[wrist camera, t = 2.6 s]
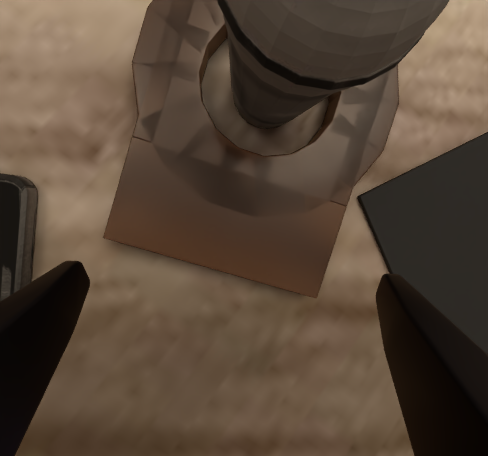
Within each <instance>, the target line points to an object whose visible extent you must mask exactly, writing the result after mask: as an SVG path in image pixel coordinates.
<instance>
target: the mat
mask: <svg viewBox="0 0 488 456" xmlns="http://www.w3.org/2000/svg"><path fill="white" fill-rule="evenodd" d="M358 199H359V201H360V203H361V206H362V208H363V210H364V213H365V215H366V217H367V220H368V222H369V225H370V227H371V229H372V232H373V234H374V236H375V239H376V241H377V243H378V246H379V248H380V250H381V253H382V255H383V257H384V260H385V262H386V264H387V267H388V269H389V271H390V274H399V275H400V276H402V277H403V278H404V279H405V280H406V281H407V282H408V283H409V284H411V285H412V286H413V287H414V288H415V289H416V290H417V291H418V292H419V293H420V294H422V295H423V296H424V297H425V298H426V299H427V300H428V301H429V302H430V303H431V304H433V305H434V306H435V307H436V308H437V309H438V310H439V311H440V312H441V313H442V314H444V315H445V316H446V317H447V318H448V319H449V320H450V321H451V322H452V323H453V324H455V325H456V326H457V327H458V328H459V329H460V330H461V331H462V332H463V333H464V334H466V335H467V336H468V337H469V338H470V339H471V340H472V341H473V342H474V343H475V344H477V345H478V346H479V347H480V348H481V349H482V350H483V351H484V352H485V353H486V354H488V132H487V133H485V134H483V135H481V136H479V137H477V138H475V139H473V140H471V141H469V142H467V143H465V144H463V145H461V146H459V147H457V148H454V149H452V150H450V151H448V152H446V153H444V154H442V155H440V156H438V157H436V158H434V159H432V160H430V161H428V162H426V163H424V164H422V165H420V166H418V167H416V168H414V169H412V170H410V171H408V172H406V173H404V174H402V175H400V176H398V177H396V178H394V179H392V180H390V181H388V182H386V183H384V184H382V185H380V186H378V187H375V188H373V189H371V190H369V191H367V192H365V193H363V194H361V195H359V196H358Z"/></svg>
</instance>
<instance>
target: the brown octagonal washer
mask: <svg viewBox="0 0 488 456" xmlns="http://www.w3.org/2000/svg"><path fill="white" fill-rule="evenodd" d="M226 38H228V32H227V28H226V25H225V21H224V17H223V13H222V11H221V9H220V7H219V5H218V2H217V0H153V1H152V2H151V3H150V5H149V6H148V8H147V11H146V14H145V18H144V21H143V25H142V28H141V32H140V36H139V39H138V43H137V46H136V50H135V53H134V57H133V60H132V68H133V77H134V85H135V94H136V102H137V111H138V118H137V122H136V125H135V129H134V132H133V137H132V139H131V143H130V146H129V150H128V153H127V157H126V160H125V163H124V167H123V170H122V174H121V177H120V181H119V184H118V188H117V191H116V195H115V198H114V202H113V205H112V209H111V212H110V216H109V219H108V223H107V226H106V230H105V233H104V237H103V238H106V239H109V240H113V241H116V242H120V243H123V244H127V245H130V246H134V247H137V248H141V249H144V250H148V251H152V252H155V253H159V254H162V255H166V256H169V257H173V258H176V259H180V260H183V261H187V262H190V263H194V264H197V265H201V266H204V267H208V268H211V269H215V270H218V271H222V272H225V273H229V274H232V275H236V276H239V277H243V278H246V279H250V280H253V281H257V282H261V283H264V284H268V285H271V286H275V287H278V288H282V289H285V290H289V291H292V292H296V293H299V294H303V295H306V296H310V297H313V298H317V296H318V293H319V290H320V287H321V283H322V280H323V277H324V274H325V271H326V268H327V265H328V262H329V259H330V256H331V253H332V250H333V247H334V244H335V241H336V238H337V235H338V232H339V229H340V226H341V223H342V220H343V216H344V213H345V210H346V206H347V204H348V201H349V198H350V195H351V192H352V189H353V187H354V186H355V185H356V183H357V182H358V181H359V180H360V179H361V177H362V176H363V175H364V174H365V173H366V171H367V170H368V169H369V168H370V167H371V165H372V164H373V163H374V162H375V161H376V159H377V158H378V157H379V156H380V154H381V153H382V152H383V150H384V147H385V144H386V141H387V138H388V135H389V132H390V129H391V126H392V123H393V120H394V117H395V114H396V111H397V108H398V105H399V88H398V64H397V66H396V67H395V68H393V69H391V70H390V71H388V72H386V73H384V74H382V75H380V76H379V77H377V78H375V79H373V80H371V81H370V82H368V83H366V84H364V85H358V86H353V87H350V88H348V89H345V90H342V91H339V92H336V93H333V94H331V95H330V96H329V105H328V109H327V112H326V115H325V118H324V121H323V124H322V127H321V129H320V130H319V131H318V132H317V134H316V135H315V136H314V137H313V138H312V140H311V141H310V142H309V143H308V144H307V146H305V147H303V148H301V149H299V150H297V151H295V152H293V153H291V154H284V155H271V156H262V155H259V154H256V153H253V152H250V151H247V150H244V149H241V148H238V147H237V146H236V145H234V144H233V143H232V142H231V141H230V140H229V139H228V138H226V137H225V136H224V135H223V134H222V133H221V132H219V131H218V130H217V129H216V127H215V125H214V124H213V122H212V120H211V118H210V116H209V114H208V112H207V110H206V108H205V106H204V104H203V101H202V91H201V83H202V79H203V76H204V72H205V69H206V66H207V62H208V59H209V58H210V57H211V55H212V54H213V53H214V52H215V51H216V49H217V48H218V47H219V46H220V45H221V43H222V42H223V41H224V40H225V39H226Z"/></svg>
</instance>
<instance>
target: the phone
mask: <svg viewBox="0 0 488 456" xmlns="http://www.w3.org/2000/svg"><path fill="white" fill-rule="evenodd" d="M36 209H37V190H36V187H35V185H34V184H33V183H32V182H31V181H30V180H28V179H27V178H25V177H21V176H16V175H8V174H1V173H0V301H2V300H3V299H5V298H7V297H8V296H10V295H12V294H13V293H15V292H16V291H18V290H20V289H21V288H23V287H24V286H26V285H28V284H29V283H31V271H32V259H33V246H34V234H35V222H36Z"/></svg>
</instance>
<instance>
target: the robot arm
mask: <svg viewBox="0 0 488 456" xmlns="http://www.w3.org/2000/svg"><path fill="white" fill-rule="evenodd" d="M89 286H90V279H89V277H88V275H87V273H86V271H85V269H84V267H83V264H82V263H81V262H79V261H65V262H63V263H62V264H60V265H58V266H57V267H55V268H53V269H52V270H50V271H49V272H47V273H45V274H44V275H42V276H41V277H39V278H37V279H36V280H34V281H33V282H31V283H29V284H28V285H26V286H24V287H23V288H21V289H20V290H18V291H16V292H15V293H13V294H12V295H10V296H8V297H7V298H5V299H3V300H2V301H0V456H15V454H16V452H17V450H18V448H19V446H20V444H21V442H22V439H23V437H24V435H25V433H26V431H27V429H28V427H29V425H30V423H31V420H32V418H33V416H34V414H35V412H36V410H37V408H38V406H39V404H40V402H41V399H42V397H43V395H44V393H45V391H46V389H47V387H48V385H49V383H50V380H51V378H52V376H53V374H54V372H55V370H56V368H57V366H58V364H59V362H60V359H61V357H62V355H63V353H64V351H65V349H66V347H67V345H68V343H69V340H70V338H71V336H72V334H73V332H74V329H75V326H76V324H77V321H78V318H79V315H80V312H81V310H82V307H83V304H84V301H85V298H86V295H87V293H88V290H89ZM376 303H377V310H378V316H379V322H380V328H381V334H382V340H383V345H384V351H385V354H386V358H387V362H388V365H389V369H390V372H391V376H392V379H393V383H394V386H395V390H396V393H397V397H398V400H399V404H400V407H401V410H402V414H403V417H404V421H405V424H406V428H407V431H408V435H409V438H410V442H411V445H412V449H413V452H414V456H488V354H486V353H485V352H484V351H483V350H482V349H481V348H480V347H479V346H478V345H477V344H475V343H474V342H473V341H472V340H471V339H470V338H469V337H468V336H467V335H466V334H464V333H463V332H462V331H461V330H460V329H459V328H458V327H457V326H456V325H455V324H453V323H452V322H451V321H450V320H449V319H448V318H447V317H446V316H445V315H444V314H442V313H441V312H440V311H439V310H438V309H437V308H436V307H435V306H434V305H433V304H431V303H430V302H429V301H428V300H427V299H426V298H425V297H424V296H423V295H422V294H420V293H419V292H418V291H417V290H416V289H415V288H414V287H413V286H412V285H411V284H409V283H408V282H407V281H406V280H405V279H404V278H403V277H402V276H400V275H399V274H384V275H383V276H382V278H381V281H380V284H379V286H378V289H377V292H376Z"/></svg>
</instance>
